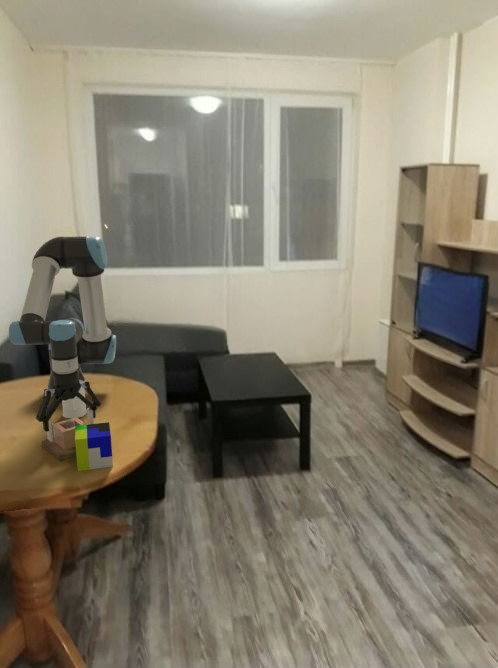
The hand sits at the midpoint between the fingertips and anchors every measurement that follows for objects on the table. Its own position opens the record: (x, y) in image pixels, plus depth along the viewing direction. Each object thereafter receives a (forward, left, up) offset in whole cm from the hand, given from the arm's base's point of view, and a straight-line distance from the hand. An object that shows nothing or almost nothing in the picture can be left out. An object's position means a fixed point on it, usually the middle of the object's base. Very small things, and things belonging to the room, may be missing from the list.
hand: (71, 433), depth 175 cm
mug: (-11, -23, -4) cm, 26 cm away
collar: (0, 0, -3) cm, 3 cm away
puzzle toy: (-1, +14, -4) cm, 15 cm away
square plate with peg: (0, 0, -4) cm, 4 cm away
